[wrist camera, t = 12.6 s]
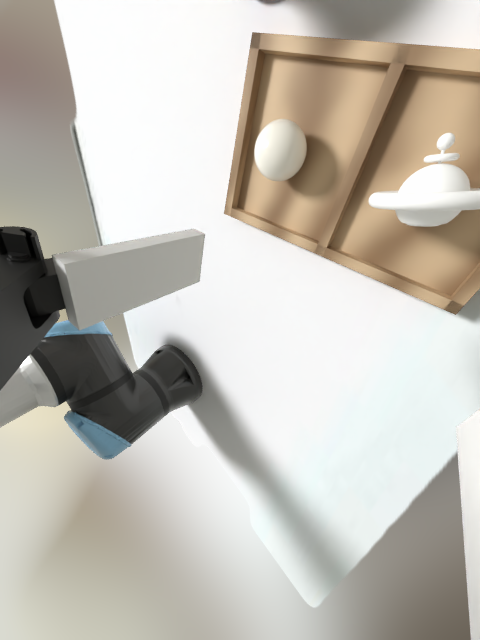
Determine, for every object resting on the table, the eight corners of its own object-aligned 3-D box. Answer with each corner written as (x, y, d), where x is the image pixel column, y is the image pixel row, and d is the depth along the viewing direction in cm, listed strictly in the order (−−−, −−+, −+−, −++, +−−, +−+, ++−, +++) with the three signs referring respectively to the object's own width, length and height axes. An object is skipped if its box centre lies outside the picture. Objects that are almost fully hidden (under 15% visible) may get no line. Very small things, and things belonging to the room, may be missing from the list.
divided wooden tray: (233, 212, 34) (224, 213, 32) (263, 40, 24) (252, 32, 23) (455, 306, 24) (455, 314, 22) (659, 76, 14) (682, 64, 13)
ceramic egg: (265, 174, 28) (239, 173, 25) (278, 119, 25) (250, 109, 22) (304, 187, 27) (282, 188, 23) (323, 129, 24) (300, 120, 20)
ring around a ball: (375, 218, 24) (352, 229, 18) (389, 146, 21) (367, 134, 16) (487, 220, 20) (502, 237, 14) (522, 131, 17) (558, 107, 11)
